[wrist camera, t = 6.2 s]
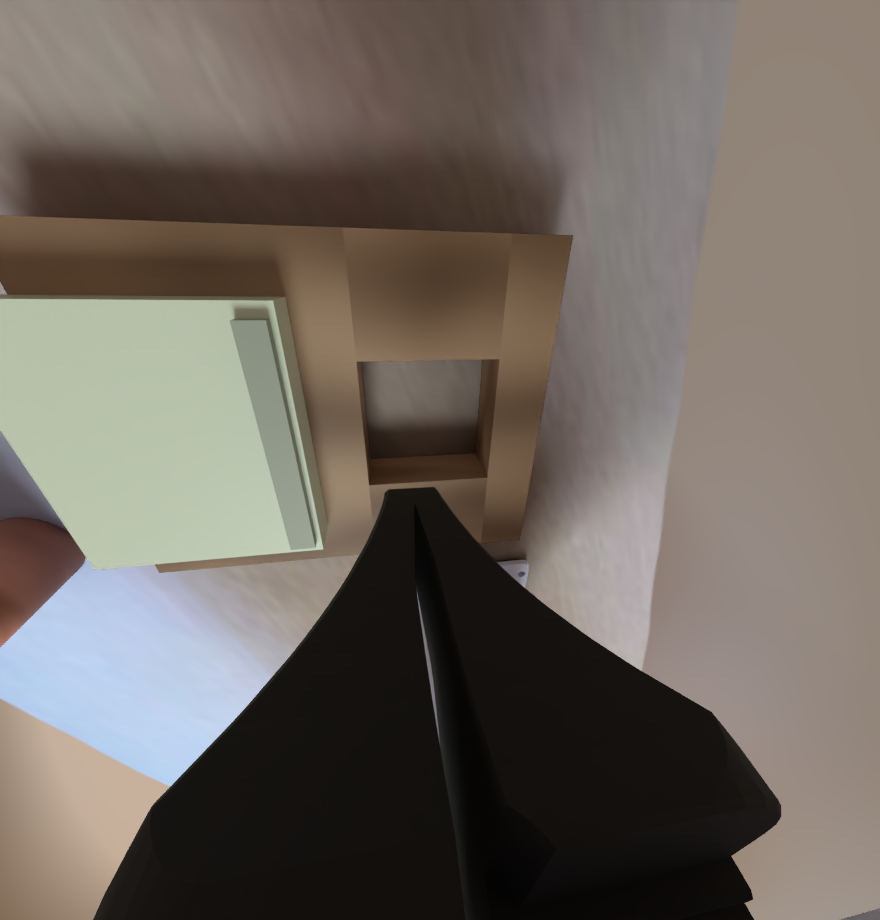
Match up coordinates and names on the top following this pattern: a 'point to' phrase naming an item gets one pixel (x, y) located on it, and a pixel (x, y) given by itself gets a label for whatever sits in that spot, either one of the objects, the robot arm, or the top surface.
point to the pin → (32, 568)
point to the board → (348, 338)
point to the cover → (162, 424)
